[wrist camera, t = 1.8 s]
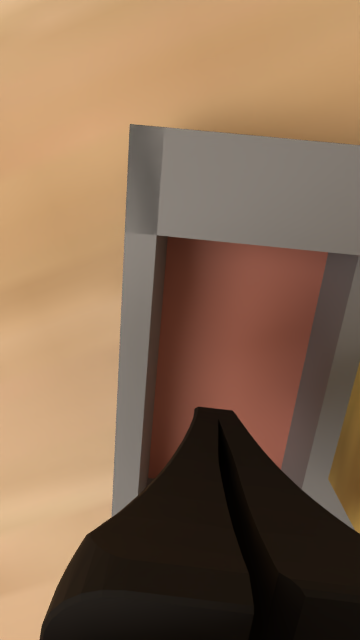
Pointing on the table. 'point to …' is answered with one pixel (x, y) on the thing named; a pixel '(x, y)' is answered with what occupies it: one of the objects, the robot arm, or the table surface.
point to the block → (349, 459)
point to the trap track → (238, 299)
